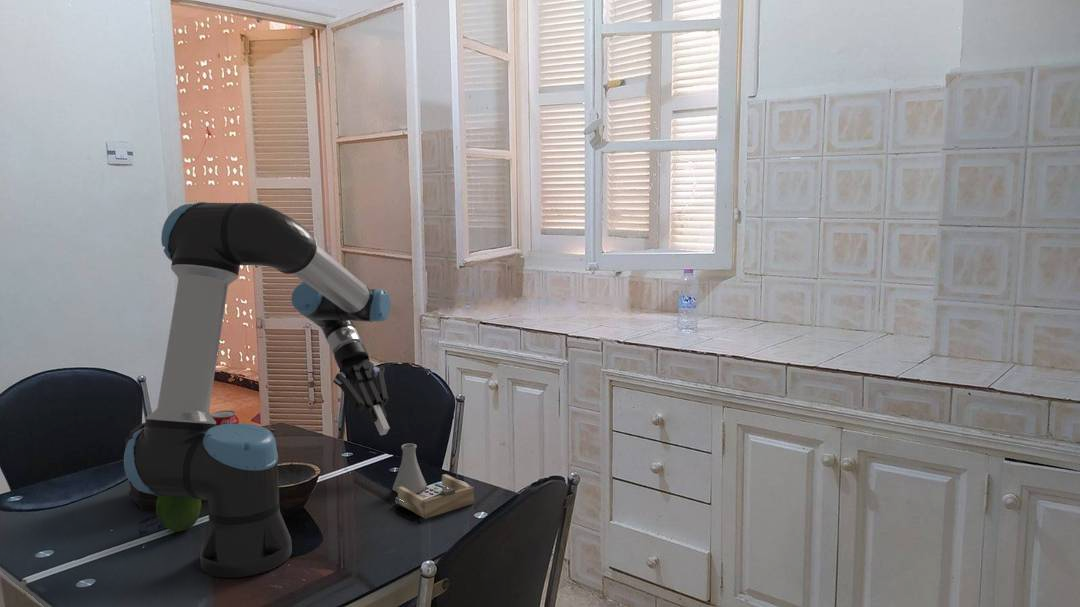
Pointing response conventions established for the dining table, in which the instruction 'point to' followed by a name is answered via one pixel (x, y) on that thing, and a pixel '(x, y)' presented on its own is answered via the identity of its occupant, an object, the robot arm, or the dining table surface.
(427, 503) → the u-shaped wooden frame
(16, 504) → the dining table surface
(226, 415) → the soda can
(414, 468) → the flask
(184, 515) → the avocado
